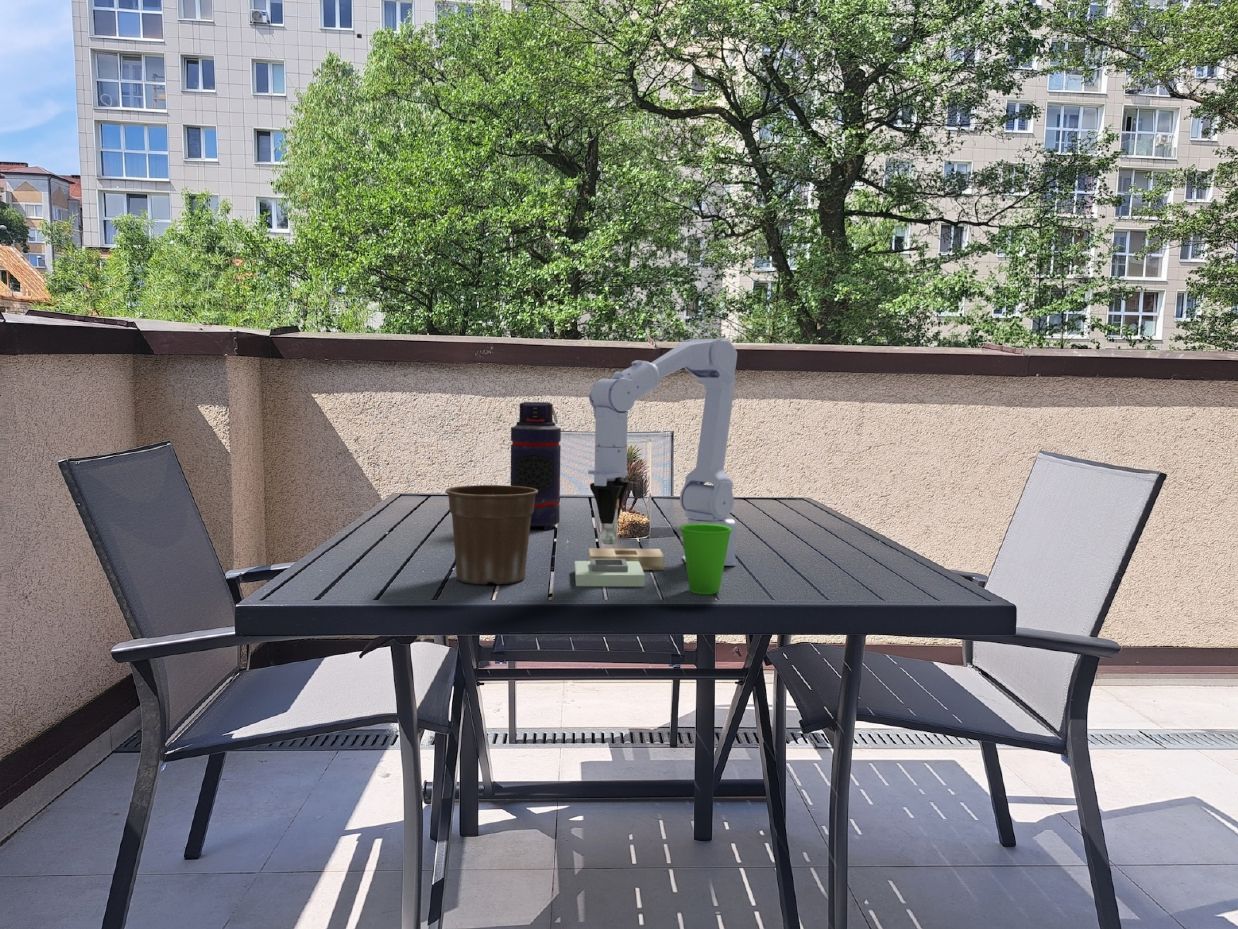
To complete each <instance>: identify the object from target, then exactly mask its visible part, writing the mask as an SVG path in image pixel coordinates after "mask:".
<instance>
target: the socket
mask: <svg viewBox="0 0 1238 929" xmlns="http://www.w3.org/2000/svg"><path fill="white" fill-rule="evenodd" d="M574 579H575V587H645V586H646V574H645V572H644V570H643V569H642V567H641V565H640V563H639V561H626V560H625V559H590V561H589V560H575V561H574Z"/></svg>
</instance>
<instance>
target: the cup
mask: <svg viewBox="0 0 1238 929" xmlns="http://www.w3.org/2000/svg"><path fill="white" fill-rule="evenodd" d="M679 530H681V534H682V543H683V551H684V556H685V560H686V562H685V566H686V568H685V569H686V575H687V582H688V583H687V584H688V588H689V590H690V592H691V593H694V594H699V595H714V594H717V593H719V591H720V588H721V583H722V579H723V573H724V568H725V566H724V564H725V558H726V553H727V548H728V542H729V537H730V532H731V531H733V530H732V528H731V527H729V526H725V525H718V524H701V523H699V524H688V523H687V524H682V525H680V526H679Z"/></svg>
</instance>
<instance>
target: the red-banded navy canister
mask: <svg viewBox="0 0 1238 929" xmlns="http://www.w3.org/2000/svg"><path fill="white" fill-rule="evenodd" d="M553 419H554V420H553ZM556 425H558V417H557V414H556V411H555V409H554V406H553V403H552V402H540V401H523V402H521V403H519V419H518V421H517V422H516V424H515V425H514V426H511V428H510V442H511V444H510V486H520V487H529V488H534V489H537V490H538V493H537V494H536V495H535V502H534V511H533V513H532V514H531V523H530V527H544V530H545V531H549V530H548V529H550V530H553V528H554V527H553V526H556V525H558V524H559V523H560V520H561V519H560V518H561V517H560V516H561V515H560V512H561V508H560V507H561V505H560V503H559V502H560V501H561V449H562V448H561V445H560V442H561V439H562V438H561V436H562V429H561V427H558V426H556Z"/></svg>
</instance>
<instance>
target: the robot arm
mask: <svg viewBox="0 0 1238 929" xmlns="http://www.w3.org/2000/svg"><path fill="white" fill-rule="evenodd" d="M737 359H738V352H737V350H736V348H735V346H734V345H733V343H732V342H731V341H730V339H728V338H725V337H719V338H706V339H704V338H703V339H701V338H700V339H699V338H698V339H696V338H689V339H686V340H685V341H682V342H678V343H677V346H675V347H674V348H672V349H670V350H668V352H666V353H664V354H663V355H661V356H659V357H658V358H656V359H655V360H653V361H651V362H649V361H647V360H637V359H636V360H634V361H632V362H631V363H630V364H631V366H630V367H628V368H626V369H623V370H622V371H616V372H613V376H612V377H611V378H601V379H599V380H597V381H596V382H595V383H594V384H593V386H592V388H591V391H590V393H588V401H589V403H590V405H591V407H592V409H593V417H594V419H595V421H594V422H595V424H594V425H595V428H594V430H595V431H594V437H595V438H594V469H589V470H587V473H588V475H593V477H594V478H593V480H594V482H591V483H590V484H589V488H590V491H591V492H592V494H593V497H594V499H595V502H596V506H597V512H598V517H599V521H600V524H601V523H604V524H613V521H614V517H615V510H616V504H617V500H618V499H619V508H618V517H617V522H618V521H619V518H620V515H621V511H622V505H623V501H624V498H625V495H626V493H627V490H628V488H629V487H630V484H631V481H630V480H625V478H626V477H628V474H629V472H628V470H627V469H628V468H627V467H628V466H627V465H628V464H627V462H628V422H629V420H628V412H629V411H631V410H632V409H633V407H634V405H635V402H636V401H637V400H639V399H640V398H642V397H645V396H646V395H647V394H649V393H650V392H653V391H654V390H656V389H658V387H659V385H660V380H661V379H662V378H664V377H667V376H669V375H670V374H673V373H675V372H678V371H679V370H681V369H685V370H686V371H687V372H689V374H690V375H692V377H694V378H695V379H696V380H698V381H699V382H701V384H702V385H703V387H704V388H705V397H704V404H703V412H702V419H701V420H702V421H701V427H700V432H699V433H700V434H699V443H698V451H697V456H696V458H697V459H696V465H695V467H694V468H693V470H691V471H690V472H689V473H687V475H686V476H685V482H684V485H683V487H682V489H681V491H680V494H679V505H680V507H681V509H682V510H683V512H685V513H684V514H685V515H684V516H685V517H687V524H699V523H701V524H718V525H725V526H729V527H731V528H732V530H733V531H731V532H730V537H729V542H728V548H727V553H726V558H725V564H724V567H725V566H730V567H734V566H736V543H737V542H736V541H737V530H736V529H737V528H736V522H735V520H734V519H733V518H728V517H729V515H730V513H732V511H733V508H734V505H735V504H734V503H735V502H734V499H735V498H734V494H733V486H734V485H733V484H734V482H733V480H732V479H731V478H730V476H728V475H727V473H726V472H725V470H724V467H725V461H726V453H727V447H728V438H729V431H730V430H729V429H730V424H731V415H732V409H733V401H734V394H735V387H736V386H735V385H736V378H735V375H736V367H737ZM706 483H710V484H711V485H710V484H706ZM682 560H683V561H684V562H685V563H686V560H685V555H682Z"/></svg>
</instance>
